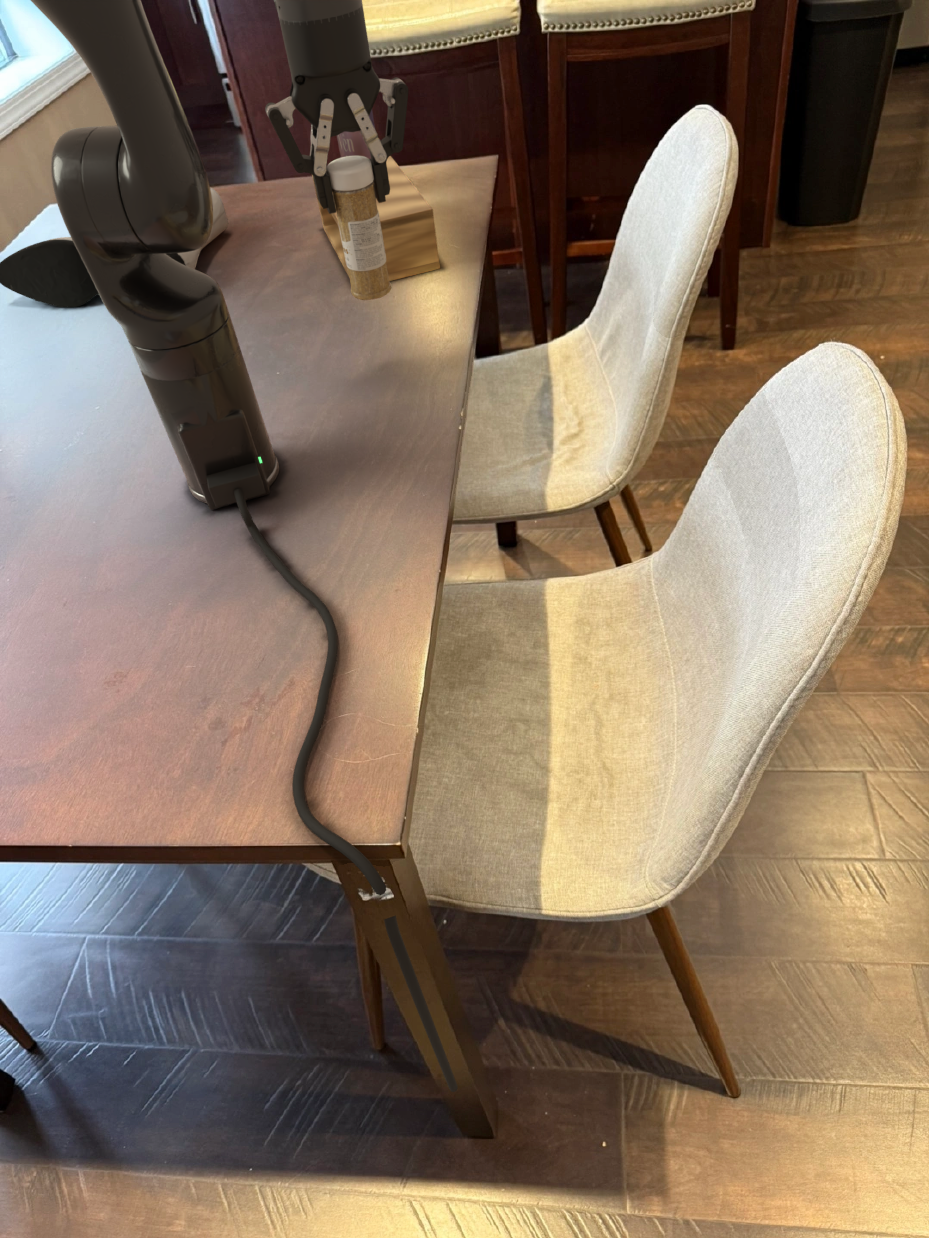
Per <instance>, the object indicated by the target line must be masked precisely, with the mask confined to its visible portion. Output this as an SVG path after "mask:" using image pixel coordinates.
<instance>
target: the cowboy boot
mask: <svg viewBox="0 0 929 1238" xmlns="http://www.w3.org/2000/svg"><path fill="white" fill-rule="evenodd" d="M210 190H211V195H212V203H213V225H212V230H211V234H210V237H209V239H208V241H207V242H206V243H205V244H204V245H203V246H202V247H201V248H199V249H197V250H195V251H190V252H184V253H168V254H166V255H168V256H169V257H171V258H172V259H174V260H176V261H177V262H179V263H181V264H183V265H185V266H188V267H190V268H192V269H195V270H196V266H197V263H198V259H199V256H200V254H201V251H202V250H203V249H204V248H205V247H206V246H208V245H209V244H210V243H211V242H212V241H214V240H215V239H216V238H217V237H219V235H221V234H222V233H223V232H224V231H225V230H226V229H227V228H228V227H229V219H228V216H227V215H228V214H227V211H226V209H225V205H224V202H223V199H222V197H221V195H220V194H219V192H218V191H217V190H216V189H215V188H213V187H210ZM0 284H1V285H2V286H3V287H4V288H7V289H8V290H9V291H11V292H14V293H16V294H18V295H21V296H23V297H25V298H27V299H31V300H33V301H37V302H38V303H42V304H45V305H50V306H53V307H58V308H65V309H72V308H78V307H81V306H83V305H85V304H87V303H88V302H90V301H91V300H93V299H94V298H95V297H96V296H99V293H98V291H97V289H96V287H95V285H94V283H93V281H92V279H91V277H90V275H89V273H88V271H87V269H86V267H85V265H84V263H83V261H82V259H81V257H80V255H79V253H78V251H77V249H76V247H75V245H74V243H73V240H72V238H71V236H64V237H62V236H61V237H56V238H50V239H46V240H43V241H40V242H39V241H38V242H36V243H33V244H30V245H28V246H25V247H23V248H21V249H19V250H17V251H15V252H14V253H12V254H10V255H8V256H7V257H5V258H4V259H3V260H1V261H0Z"/></svg>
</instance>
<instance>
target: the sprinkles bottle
mask: <svg viewBox="0 0 929 1238" xmlns="http://www.w3.org/2000/svg"><path fill="white" fill-rule="evenodd" d="M326 171H327V173H328V174H329V177H330V182H331V187H332V192H333V196H334V202H335V206H336V212H337V217H338V224H339V230H340V235H341V240H342V245H343V251H344V256H345V261H346V265H347V267H348V273H349V276H348V278H349V277H350V278H349V282H350V293H351V295H352V296H353V297H354V298H355V299H356V300H361V301H371V300H372V301H373V300H377V299H380V298H384V297H386V296H387V295H388V294H389V293H390V292H391V290H392V284H391V281H389V276H388V271H387V265H386V254H385V248H384V242H383V236H382V230H381V224H380V217H379V212H378V209H377V204H376V198H375V191H374V182H373V180H374V174H373V169H372V164H371V161H370V159H368V158H367V157H364V156H346V157H342V158H341V157H338V158H336V159H334V160H332V161H330V162H329V163H327V166H326Z"/></svg>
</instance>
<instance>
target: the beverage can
mask: <svg viewBox="0 0 929 1238" xmlns="http://www.w3.org/2000/svg"><path fill="white" fill-rule="evenodd" d="M373 112H374V111H373V109H372V110H371V113H370V115H369V118H370V120H371V122H372V124H373V126H374V128H375V129H376V125H375V119H374V113H373ZM336 139H337V144H338V149H339V155H340V158H342V157H346V156H364V157H367V158H368V159H371V156H370V152H369V150H368V148H367V146H366V143H365V141H364V139H363V137H362V136H361V134H360V132H359V131H356V132H343V133H341V134H339V135H337V136H336Z"/></svg>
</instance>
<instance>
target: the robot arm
mask: <svg viewBox="0 0 929 1238" xmlns="http://www.w3.org/2000/svg"><path fill="white" fill-rule="evenodd" d="M30 2H31V3H32V4H33V5H34V6H35V7H36V8H37V9H38V10H39V11H40V12H41V13H42V14H43V15H44V17H46V18H47V19H48V20H49V21H50V22H51V24H52V25H53V26H55V28H56V29H57V30H58V31H59V32H60V33H61V35H62V36H63V37H64V38H65V39H66V41H68V42H69V44H70V45H71V47H73V49H74V50H75V51H76V53H77V54H78V56H79V57H80V58H81V60H82V61H83V63H84V64H85V66H86V67H87V69H88V70H89V72H90V73H91V76H92V77H93V78H94V80H95V82H96V84H97V86H98V88H99V90H100V91H101V94H102V96H103V97H104V99H105V102H106V104H107V105H108V108H109V111H110V112H111V114H112V117H113V119H114V122H115V124H116V125H100V126H99V125H97V126H85V127H84V126H83V127H76V128H71V129H69V130H67V131H66V132H64V133H63V134H61V135H60V136H59V138H58V139H57V140H56V142H55V144H54V145H53V149H52V153H51V160H50V174H51V183H52V184H51V185H52V189H53V193H54V198H55V200H56V204H57V207H58V210H59V212H60V215H61V218H62V220H63V223H64V225H65V228H66V230H67V233H68V234H69V237H71V238H72V240H73V243H74V245H75V247H76V249H77V251H78V253H79V255H80V257H81V259H82V261H83V263H84V265H85V267H86V269H87V271H88V273H89V275H90V277H91V279H92V281H93V283H94V285H95V287H96V289H97V291H98V293H99V294H98V296H99V298H100V299H101V302H102V304H103V305H104V307H105V309H106V311H107V312H108V313H109V314H110V315H111V317H112V318H113V319H114V320H115V321H116V322H117V323H118V324H119V325H120V326H121V329H122V330H123V332H124V335H125V337H126V339H127V341H128V343H129V346H130V349H131V351H132V353H133V356H134V358H135V360H136V364H137V365H138V368H139V370H140V373H141V375H142V377H143V380H144V382H145V385H146V388H147V389H148V392H149V394H150V396H151V399H152V401H153V404H154V407H155V409H156V411H157V413H158V415H159V418H160V420H161V422H162V425H163V427H164V430H165V432H166V434H167V437H168V439H169V442H170V444H171V446H172V449H173V451H174V453H175V455H176V458H177V460H178V463H179V465H180V467H181V470H182V472H183V475H184V477H185V479H186V484H187V486H188V490H189V491H190V493H191V495H192V496H193V497H194V498H195V499H196V500H198V501H199V502H201V503H204V504H207V507H208V509H209V510H210V511H214V510H217V509H221V508H224V507H228V506H232V505H234V504H236V505H237V508H238V510H239V514H240V515H241V518H242V520H243V522H244V524H245V527H246V528H247V530H248V532H249V533H250V535H251V537H252V538H253V540H254V541H255V543H256V545H257V546H258V548H260V550H261V552H262V553H263V554H264V556H265V557H266V558H267V560H268V561H269V562H270V563H271V564H272V565H273V567H274V568H275V569H276V570H277V572H279V573H280V574H279V575H281V576H282V577H283V579H284V580H285V582H287V584H288V585H290V586H291V588H293V589H294V590H295V591H296V592H297V593H299V595H301V596H302V597H303V598H304V599H305V600H306V601H308V602H309V603H310V604H311V605H312V606H313V607H314V609H316V611H317V612H318V614H319V615H320V617H321V619H322V621H323V624H324V626H325V630H326V636H327V654H326V658H325V659H326V660H325V664H324V669H323V673H322V677H321V681H320V685H319V689H318V694H317V698H316V699H317V700H316V705H315V709H314V712H313V716H312V720H311V723H310V725H309V728H308V731H307V733H306V735H305V738H304V740H303V742H302V745H301V748H300V750H299V752H298V755H297V757H296V761H295V765H294V768H293V769H294V770H293V774H292V782H291V783H292V784H291V785H292V787H291V788H292V796H293V797H292V798H293V801H294V806H295V809H296V812H297V815H298V817H299V818H300V819H301V821H302V823H303V824H304V825H305V826H306V828H307V829H308V831H310V832H311V833H312V834H313V835H314V836H316V837H317V838H318V839H320V840H321V841H323V842H324V843H326V845H329V846H330V847H332V848H333V849H335V850H336V851H337V852H339V853H341V854H342V855H343V856H344V857H346V858H347V859H348V860H349V861H350V862H352V863H353V864H354V865H355V867H357V868H358V869H359V871H360V872H361V873H362V874H363V876H364V877H365V879H366V880H367V882H368V883H369V885H370V887H371V888H372V891H373V892H374V893H375V894H376V895H377V896H382V895H384V894H385V893H386V891H387V885H386V884H385V882H384V879H383V878H382V876H381V875H380V873H379V872H378V870H377V869H376V868H375V866H374V864H373V863H372V862H371V861H370V860H369V859H368V858H367V857H366V855H364V854H363V853H362V852H361V851H360V850H359V849H358V848H357V847H356V846H354V845H353V844H352V843H350V842H349V841H347V840H346V839H345V838H343V837H341V836H340V835H338V834H337V833H336V832H334V831H332V830H330V829H329V828H328V827H326V826H325V825H324V824H322V823H321V822H320V821H319V820H318V819H317V818H316V817H315V816H314V814H313V813H312V811H311V810H310V807H309V805H308V802H307V799H306V792H305V777H306V772H307V768H308V767H307V766H308V764H309V761H310V758H311V754H312V751H313V749H314V747H315V744H316V742H317V739H318V738H319V735H320V731H321V729H322V727H323V723H324V722H325V721H324V720H325V716H326V713H327V708H328V703H329V697H330V693H331V688H332V683H333V679H334V675H335V672H336V671H335V670H336V665H337V661H338V655H339V636H338V629H337V625H336V624H335V620H334V618H333V615H332V613H331V612H330V610H329V608H328V607H327V605H326V604H325V603H324V602H323V600H322V599H321V598H320V597H319V596H318V595H317V594H316V593H315V592H313V591H312V590H311V589H310V588H309V587H307V586H306V585H305V584H304V583H302V581H301V580H299V579H298V578H297V577H296V576H295V574H293V572H292V571H291V570H290V569H289V568H288V567H287V565H286V564H285V562H283V561H282V559H280V557H279V556H278V555H277V554H276V552H275V551H274V550H273V549H272V548H271V546H270V545H269V544H268V542H267V541H266V539H265V538H264V536H263V535H262V533H261V532H260V530H259V528H258V526H257V525H256V523H255V521H254V519H253V517H252V515H251V512H250V510H249V507H248V505H247V502H246V501H249V500H253V499H257V498H260V497H263V496H267V495H269V494H271V491H270V487H271V486H272V484H274V482H275V481H276V479H277V478H278V476H279V472H280V464H279V461H278V458H277V455H276V453H275V451H274V449H273V446H272V443H271V440H270V436H269V433H268V430H267V426H266V425H265V421H264V418H263V414H262V411H261V409H260V405H259V402H258V400H257V396H256V393H255V390H254V387H253V384H252V381H251V377H250V373H249V371H248V368H247V365H246V362H245V358H244V355H243V352H242V349H241V346H240V343H239V340H238V336H237V333H236V329H235V327H234V324H233V321H232V317H231V314H230V311H229V308H228V305H227V301H226V299H225V296H224V293H223V291H222V288H221V287H220V285H219V283H218V282H217V281H216V280H215V279H214V278H213V277H212V276H210V275H208V274H206V273H204V272H202V271H200V270H197V269H196V268H195V269H192V268H190V267H188V266H185V265H183V264H181V263H179V262H177V261H176V260H174V259H172V258H171V257H169V256H168V255H166V254H168V253H184V252H190V251H195V250H197V249H199V248H201V247H202V246H203V245H204V244H205V243H206V242H207V241H208V239H209V237H210V234H211V230H212V225H213V203H212V195H211V190H210V188H211V186H210V182H209V178H208V173H207V170H206V167H205V163H204V160H203V157H202V154H201V152H200V149H199V147H198V144H197V141H196V138H195V136H194V134H193V131H192V128H191V126H190V122H189V120H188V118H187V116H186V114H185V111H184V108H183V106H182V103H181V101H180V98H179V96H178V93H177V91H176V88H175V86H174V83H173V81H172V78H171V76H170V74H169V71H168V69H167V66H166V64H165V61H164V59H163V56H162V53H161V52H160V49H159V46H158V43H157V41H156V38H155V36H154V34H153V31H152V28H151V24H150V23H149V20H148V18H147V15H146V12H145V8H144V6H143V3H142V0H30ZM273 2H274V7H275V9H276V11H277V15H278V20H279V24H280V30H281V34H282V39H283V44H284V49H285V54H286V57H287V62H288V67H289V71H290V76H291V77H290V78H291V86H290V90H289V96H288V97H285V98H283V99H282V100H280V101H278V102H277V103H275V102H268V103H267V104H266V105H265V109H264V110H265V114H266V115H267V117H268V119H269V121H270V123H271V125H272V127H273V129H274V131H275V133H276V136H277V137H278V139H279V141H280V143H281V145H282V148H283V149H284V151H285V154H286V155H287V158H288V159H289V161H290V162H291V165H292V167H293V168H294V170H295V172H297V173H298V174H303V173H305V174H310V175H311V176H312V175H313V178H312V180H313V179H314V183H313V185H314V184H315V187H314V190H315V189H316V192H315V194H316V193H317V196H316V199H317V198H318V201H319V203H320V204H321V206H322V208H323V209H326V208H327V210H328V212H329V214H332V213H336V207H335V202H334V197H333V192H332V187H331V182H330V177H329V174H328V173H327V171H326V168H327V165H328V156H329V155H328V154H329V151H330V147H331V146H330V145H331V138H332V137H337V135H339V134H341V133H343V132H356V131H359V132H360V134H361V136H362V137H363V139H364V141H365V143H366V146H367V148H368V150H369V152H370V156H371V159H370V161H371V164H372V169H373V174H374V180H373V182H374V191H375V198H376V199H377V201H378V202H379V203H382V202H386V198H385V195H389V193H390V184H389V178H388V171H387V165H386V162H387V159H388V157H389V156H392V155H393V154H395V153H397V154H398V153H401V152H402V151H403V148H404V141H405V130H406V121H407V120H406V119H407V111H408V100H409V87H408V85H407V84H406V82H404V81H403V80H402V79H400V78H399V77H393V78H392V79H387V78H379V76H378V75H377V73H376V72H375V69H374V67H373V63H372V57H371V51H370V45H369V38H368V30H367V24H366V18H365V11H364V4H363V0H273ZM379 93H381V94H382V100H383V102H384V103H385V104H386V105H387V116H386V124H385V125H386V126H385V137H383V138H382V139H380V138H379V135H378V133H377V131H376V127H375V128H374V126H373V124H372V122H371V120H370V118H369V115H370V113H371V110H372V111H373V108H374V105H375V103H376V101H377V97H378V96H379ZM295 110H297V112H299V113H300V114H301V116H303V117H304V118H305V120H306V121H308V122H309V124H310V126H311V127H310V151H309V155H306V154H302V152H301V151H300V148H299V147H298V144H297V142H296V140H295V138H294V137H293V134H292V132H291V131H290V129H291V128H292V127H293V126H294V121H295V119H294V118H293V117H294V116H293V113H294V112H295ZM318 201H317V202H318ZM383 921H384V926H385V930H386V934H387V935H388V936H387V937H388V939H389V942H390V944H391V947H392V949H393V952H394V955H395V957H396V960H397V963H398V965H399V968H400V970H401V973H402V976H403V978H404V980H405V981H404V982H405V983H406V985H407V988H408V990H409V994H410V995H411V998H412V1001H413V1004H414V1006H415V1009H416V1010H417V1011H416V1012H417V1014H418V1016H419V1018H420V1021H421V1023H422V1026H423V1028H424V1030H425V1031H424V1032H425V1033H426V1036H427V1038H428V1040H429V1043H430V1045H431V1047H432V1050H433V1053H434V1055H435V1057H436V1060H437V1062H438V1064H439V1067H440V1069H441V1072H442V1075H443V1077H444V1079H445V1081H446V1085H447V1088H448V1089H449V1091H450V1092H451V1093H455V1092H457V1091H458V1087H459V1086H458V1082H457V1081H456V1078H455V1075H454V1072H453V1070H452V1067H451V1065H450V1062H449V1059H448V1057H447V1054H446V1051H445V1049H444V1046H443V1043H442V1041H441V1038H440V1036H439V1033H438V1031H437V1030H438V1029H437V1028H436V1025H435V1023H434V1020H433V1017H432V1015H431V1011H430V1009H429V1006H428V1004H427V1001H426V998H425V996H424V993H423V989H421V985H420V982H419V980H418V977H417V975H416V972H415V969H414V967H413V963H412V961H411V958H410V955H409V953H408V950H407V947H406V944H405V942H404V939H403V936H402V934H401V931H400V928H399V924H398V920H397V915H393V916H390V917H387V918H385V919H383Z"/></svg>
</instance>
